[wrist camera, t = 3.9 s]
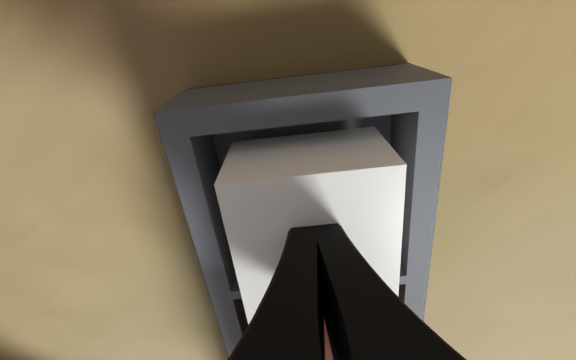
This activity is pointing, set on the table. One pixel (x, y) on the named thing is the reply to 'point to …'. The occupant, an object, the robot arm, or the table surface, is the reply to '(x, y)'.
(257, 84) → the key housing
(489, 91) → the table surface
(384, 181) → the ivory key
